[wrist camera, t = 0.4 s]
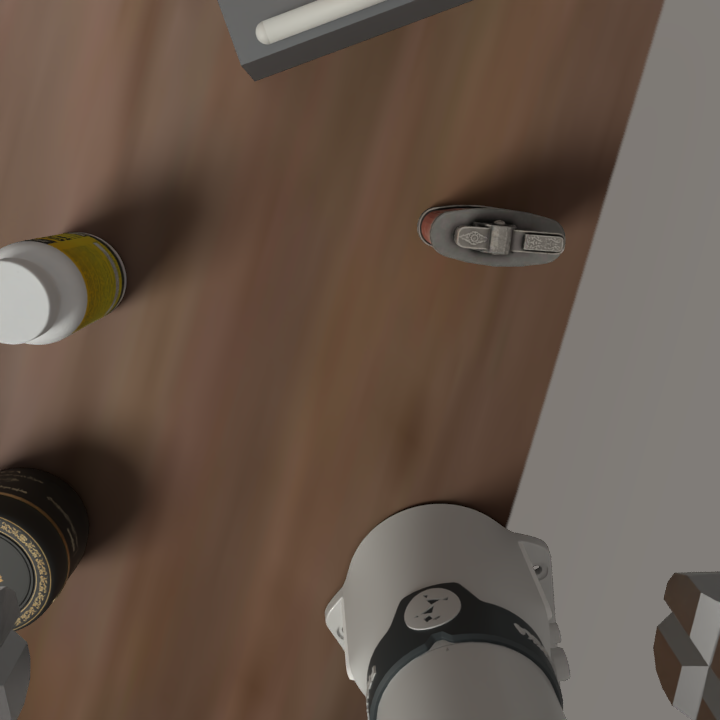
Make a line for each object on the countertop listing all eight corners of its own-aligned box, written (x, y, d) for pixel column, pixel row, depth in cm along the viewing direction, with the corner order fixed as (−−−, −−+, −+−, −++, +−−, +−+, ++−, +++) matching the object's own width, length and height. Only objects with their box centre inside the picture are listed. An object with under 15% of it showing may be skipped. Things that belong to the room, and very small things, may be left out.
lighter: (414, 249, 46) (433, 266, 37) (419, 200, 46) (440, 204, 36) (527, 257, 47) (575, 276, 37) (533, 209, 46) (584, 215, 36)
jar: (-55, 476, 50) (-124, 527, 43) (71, 445, 50) (23, 491, 42) (-5, 587, 53) (-62, 653, 45) (115, 559, 52) (77, 621, 45)
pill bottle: (94, 214, 45) (18, 223, 35) (146, 291, 47) (88, 323, 36) (21, 259, 46) (-76, 282, 35) (74, 334, 47) (-4, 377, 37)
